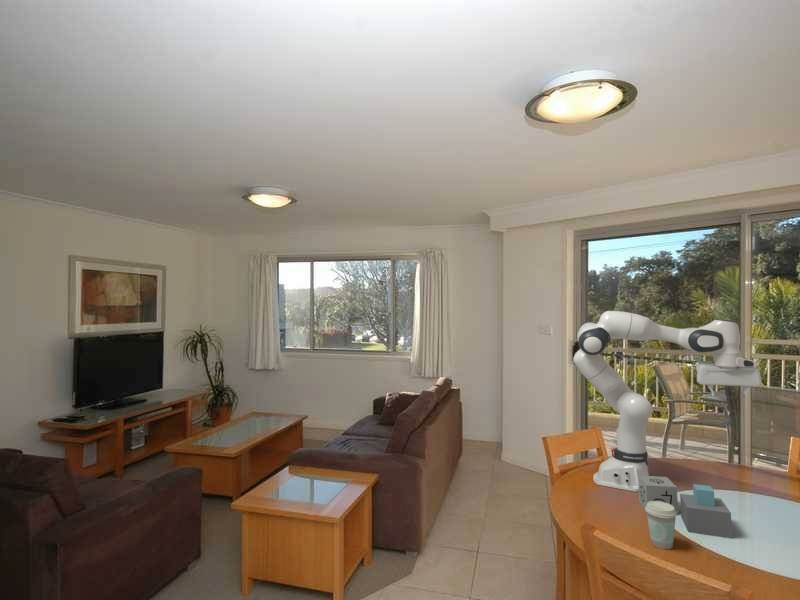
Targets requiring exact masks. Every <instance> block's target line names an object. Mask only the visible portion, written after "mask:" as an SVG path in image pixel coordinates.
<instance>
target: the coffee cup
mask: <svg viewBox="0 0 800 600" xmlns="http://www.w3.org/2000/svg"><path fill="white" fill-rule="evenodd" d="M645 510H646V511H645ZM644 511H645V513H646V516H647V517H646V518H647V523H648V530H649V536H650V543H651V544H652V545H653V546H655V547H656V548H659V549H662V550H671V549H673V548H674V540H675V528H676V517H677V516H678V515H677V514H676V511H675V508H674V507H673V506H672V505H670V504H668V503H665V502H661V501H650V502H648V503H647V506H646V508H645V509H644Z"/></svg>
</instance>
